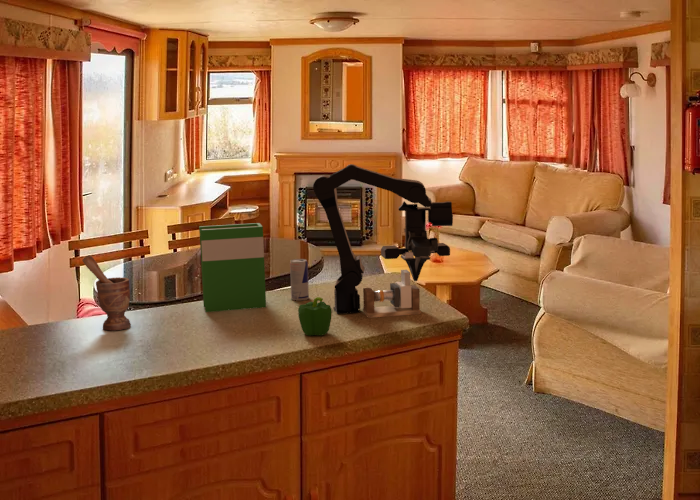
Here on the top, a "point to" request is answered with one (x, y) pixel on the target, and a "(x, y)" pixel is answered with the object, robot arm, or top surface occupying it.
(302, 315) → the bell pepper
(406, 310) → the pipe stand
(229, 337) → the top surface
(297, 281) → the energy drink
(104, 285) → the mortar and pestle
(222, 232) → the hardback book
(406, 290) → the beige boxy piece
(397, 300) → the dark flat slab
